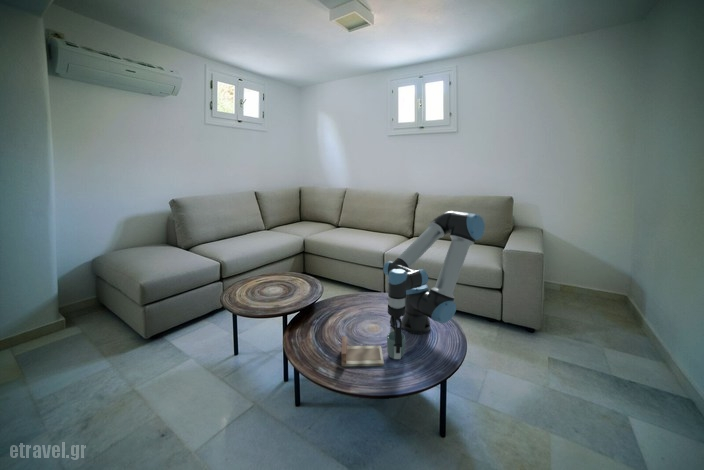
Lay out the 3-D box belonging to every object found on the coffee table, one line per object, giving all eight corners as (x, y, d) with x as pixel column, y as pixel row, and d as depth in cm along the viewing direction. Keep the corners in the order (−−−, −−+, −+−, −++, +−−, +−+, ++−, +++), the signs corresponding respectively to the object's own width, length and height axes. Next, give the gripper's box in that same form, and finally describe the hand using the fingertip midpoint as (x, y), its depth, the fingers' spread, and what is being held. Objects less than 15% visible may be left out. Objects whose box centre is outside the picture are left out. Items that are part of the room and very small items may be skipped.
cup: (394, 348, 141) (394, 329, 138) (407, 356, 135) (408, 336, 133) (383, 356, 135) (383, 336, 133) (397, 364, 130) (397, 343, 128)
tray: (380, 347, 142) (381, 335, 140) (383, 365, 129) (383, 353, 127) (342, 348, 142) (342, 336, 140) (341, 366, 129) (341, 353, 128)
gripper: (384, 293, 142) (383, 333, 146) (391, 319, 117) (390, 367, 122) (400, 293, 142) (399, 333, 146) (410, 319, 117) (408, 367, 122)
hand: (395, 349), depth 134 cm, fingers open, 13 cm apart
